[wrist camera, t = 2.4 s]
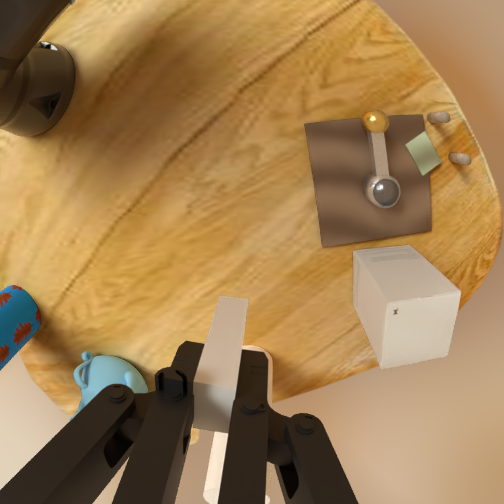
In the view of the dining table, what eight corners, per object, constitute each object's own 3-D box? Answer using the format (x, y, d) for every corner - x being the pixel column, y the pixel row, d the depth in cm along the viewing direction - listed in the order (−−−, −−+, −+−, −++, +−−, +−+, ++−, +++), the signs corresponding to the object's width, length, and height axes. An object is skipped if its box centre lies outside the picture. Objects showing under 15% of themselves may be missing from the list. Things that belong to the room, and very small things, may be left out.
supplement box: (351, 306, 46) (377, 372, 32) (352, 249, 43) (386, 302, 29) (407, 299, 45) (448, 358, 31) (412, 243, 42) (463, 290, 28)
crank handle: (392, 200, 39) (403, 207, 35) (364, 204, 39) (372, 211, 36) (382, 111, 35) (392, 109, 31) (352, 113, 35) (360, 111, 32)
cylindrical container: (280, 369, 50) (281, 505, 27) (242, 383, 52) (226, 513, 28) (259, 338, 48) (249, 481, 25) (219, 354, 50) (189, 490, 27)
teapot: (83, 335, 51) (55, 369, 42) (159, 360, 51) (140, 401, 42) (90, 389, 56) (69, 423, 47) (157, 412, 56) (142, 451, 47)
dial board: (303, 122, 37) (307, 120, 34) (451, 112, 35) (466, 111, 31) (321, 245, 43) (326, 256, 39) (458, 224, 40) (472, 232, 37)
